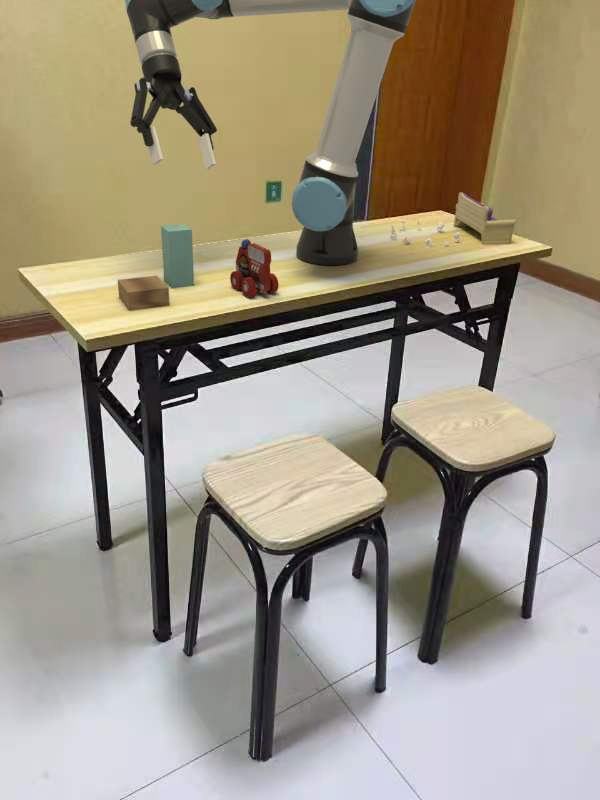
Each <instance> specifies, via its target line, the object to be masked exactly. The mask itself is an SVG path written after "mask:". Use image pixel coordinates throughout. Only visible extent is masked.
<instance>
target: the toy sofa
mask: <svg viewBox="0 0 600 800" xmlns="http://www.w3.org/2000/svg"><path fill="white" fill-rule="evenodd" d="M457 199H458V200H457V203H456V204H455V215H454V221H453V227H454V228H467V227H468V228H472V229H474V230H475V231H477V232H478V233H479V234H480V238H481V245H482V246H490V245H491V246H493V245H496V246H498V245H511V244H512V241H513V240H512V238H513V233H514V228H515V226H516V222H517V220H516V219H497V218H495V217H493V208H492V207H490V206H488V205H485V204H484V203H483V202H478V201H476V200H475V199H473V198H472V197H470V196H469V195H467V194H466V193H464V192H462V191H461V192H458V198H457Z"/></svg>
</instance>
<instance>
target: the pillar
mask: <svg viewBox="0 0 600 800" xmlns="http://www.w3.org/2000/svg"><path fill="white" fill-rule="evenodd" d="M160 231H161V232H160V234H161V249H162V269H163V281H164V283H165V285H166V286H167V287H168V288H170V289H179V288H187V287H194V286H195V277H194V276H195V274H194V269H195V268H194V248H193V247H194V246H193V229H192V228H190V227H189V226H188V225H186V224H185V223H179V224H168V225H167V224H165V225H160Z"/></svg>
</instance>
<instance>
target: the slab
mask: <svg viewBox="0 0 600 800" xmlns="http://www.w3.org/2000/svg"><path fill="white" fill-rule="evenodd" d="M163 281H164V280H162V279H161V278H160V277H159V276H158V275H151V276H150V275H149V276H141V277H131V278H124V279H123V278H121V279H117V287H118V290H117V291H118V298H119V299H120V300H121V301H120V302H122V303H123V305H124V306H125V307H126V309H127V310H128V311H129V312H132V311H138V310H139V311H141V310H146V309H147V310H148V309H154V308H162V307H170V290H169V288H170V287H169V286H168V285H167V284H166V283H165V282H163Z"/></svg>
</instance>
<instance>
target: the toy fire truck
mask: <svg viewBox="0 0 600 800" xmlns="http://www.w3.org/2000/svg"><path fill="white" fill-rule="evenodd" d="M271 263H272V252H271V250H270V249H268V248H266V247H263V246H261V245H259V244H257V243H254V242H251V240H249V239H243V240H242V241H241V244H240V246H239V247H238V251H237V255H236V259H235V270H234V271H231V273H230V285H231V286H232V288H233V290H235V291H240V290H241V291H242V295H244V297H246V298H253V297H255V295H256V293H257V292H266V293H267V294H275V293H277V291H278V289H279V287H280V286H279V280H278V277H277V275H276V274H275V273H273V272H271Z"/></svg>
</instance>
